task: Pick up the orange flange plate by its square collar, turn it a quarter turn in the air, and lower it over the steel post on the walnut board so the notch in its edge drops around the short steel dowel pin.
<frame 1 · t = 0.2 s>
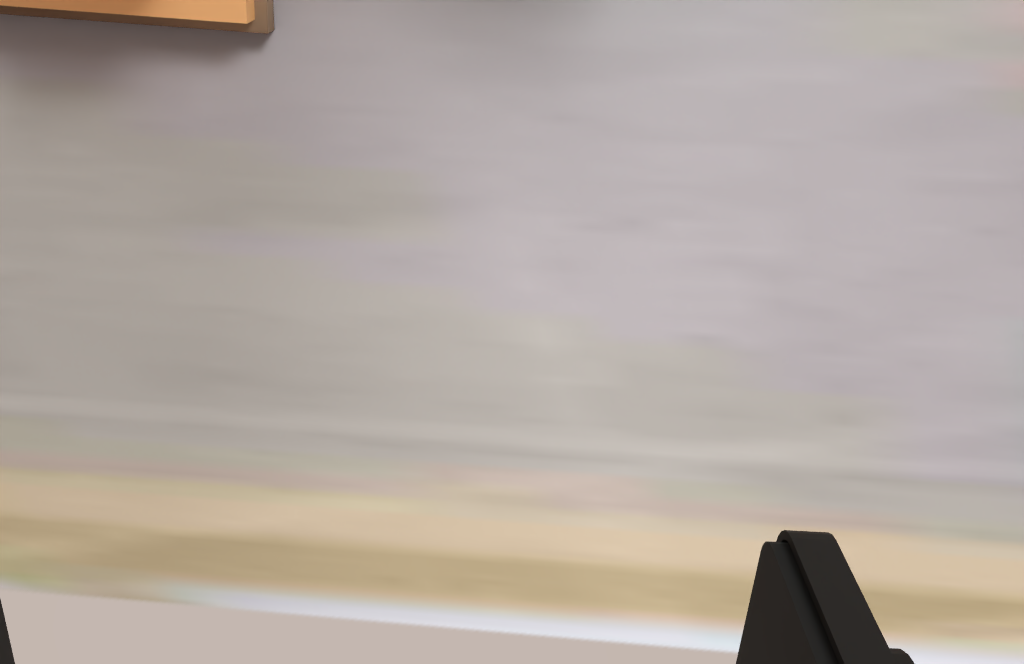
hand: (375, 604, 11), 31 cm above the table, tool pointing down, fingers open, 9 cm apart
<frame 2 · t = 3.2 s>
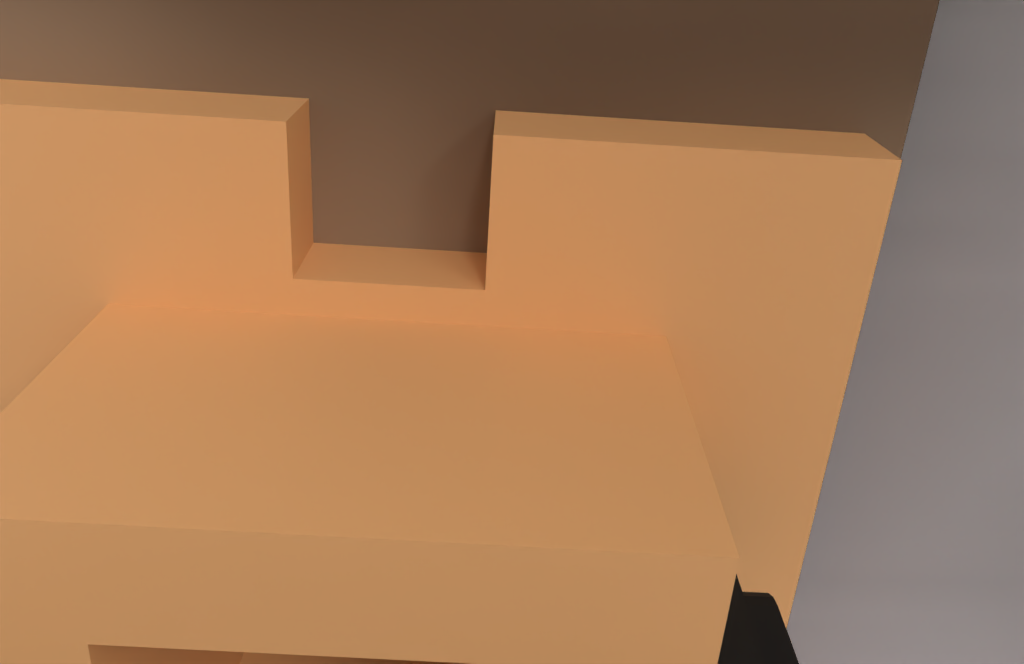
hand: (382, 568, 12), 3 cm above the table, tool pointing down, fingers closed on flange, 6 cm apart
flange: (398, 490, 13), point 1 cm above the table, touching board, gripper
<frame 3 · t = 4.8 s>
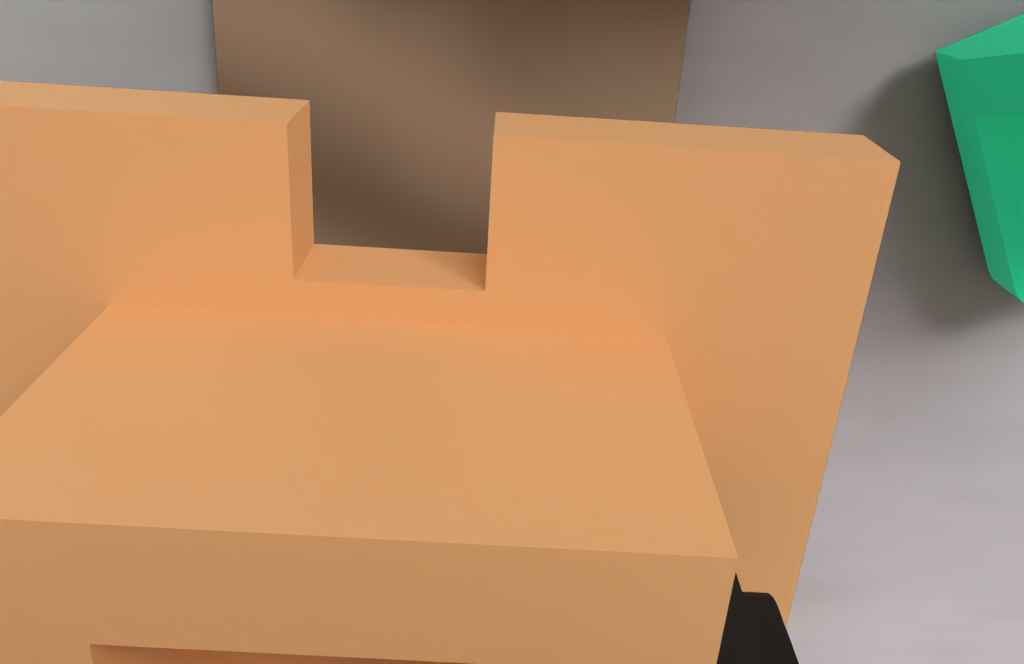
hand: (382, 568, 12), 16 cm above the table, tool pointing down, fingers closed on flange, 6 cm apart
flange: (398, 490, 13), point 15 cm above the table, touching gripper
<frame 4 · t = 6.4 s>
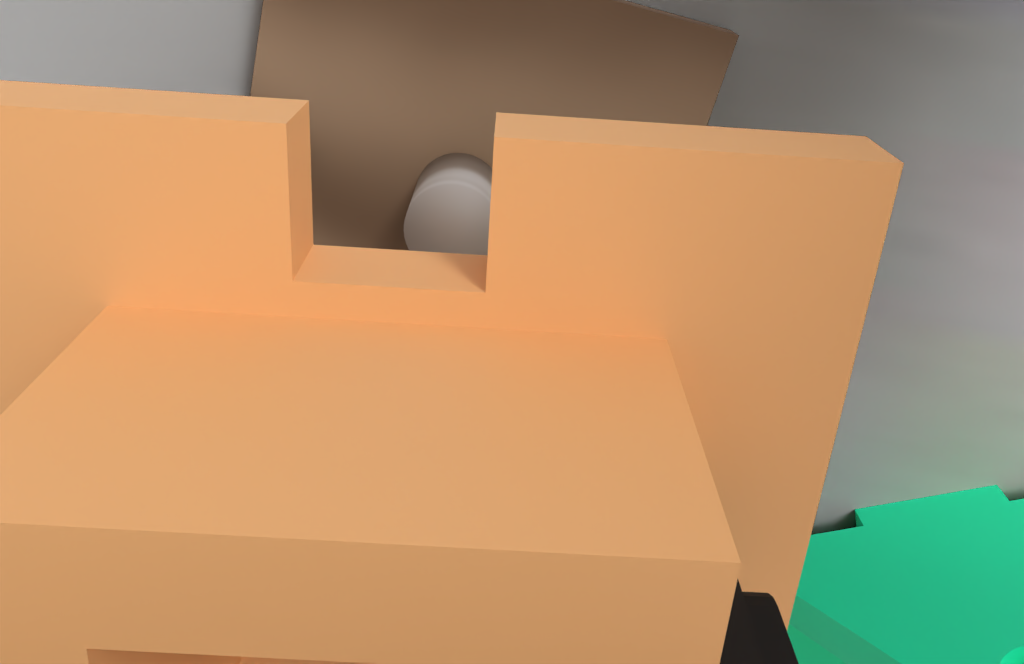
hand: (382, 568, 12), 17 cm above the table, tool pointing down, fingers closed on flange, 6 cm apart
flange: (397, 492, 13), point 15 cm above the table, touching gripper
board: (407, 403, 30), on the table
camera mount: (925, 576, 33), on the table
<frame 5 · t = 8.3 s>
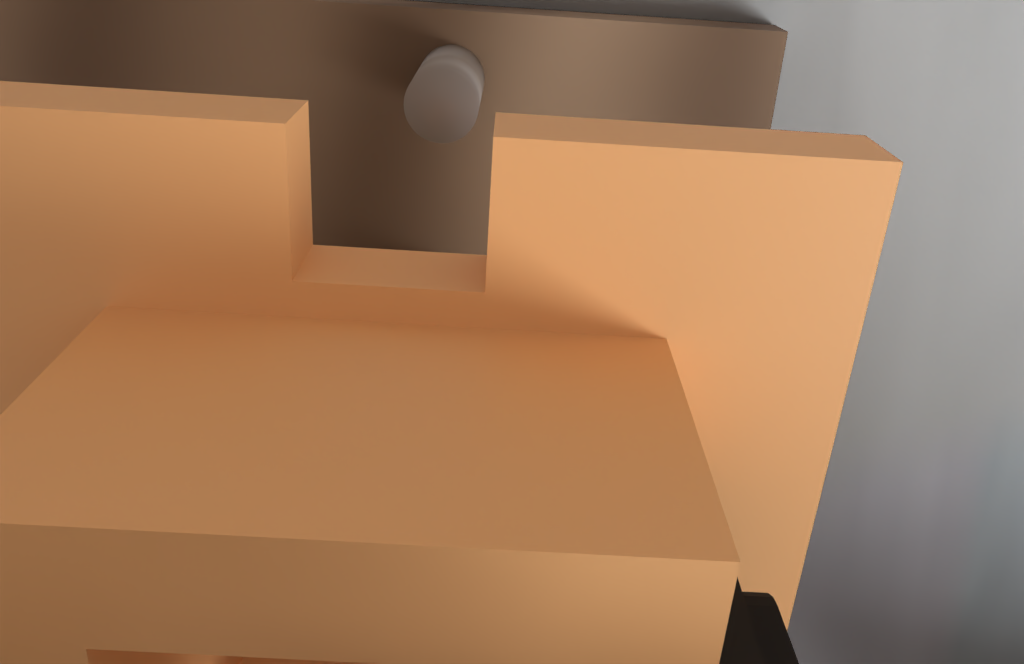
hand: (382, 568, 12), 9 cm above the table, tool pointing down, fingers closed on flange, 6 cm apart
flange: (397, 492, 13), point 7 cm above the table, touching gripper
board: (98, 275, 20), on the table
when the fingers open (4 cm above the table, at t = 9.9 s): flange stays where it is, resting on board.
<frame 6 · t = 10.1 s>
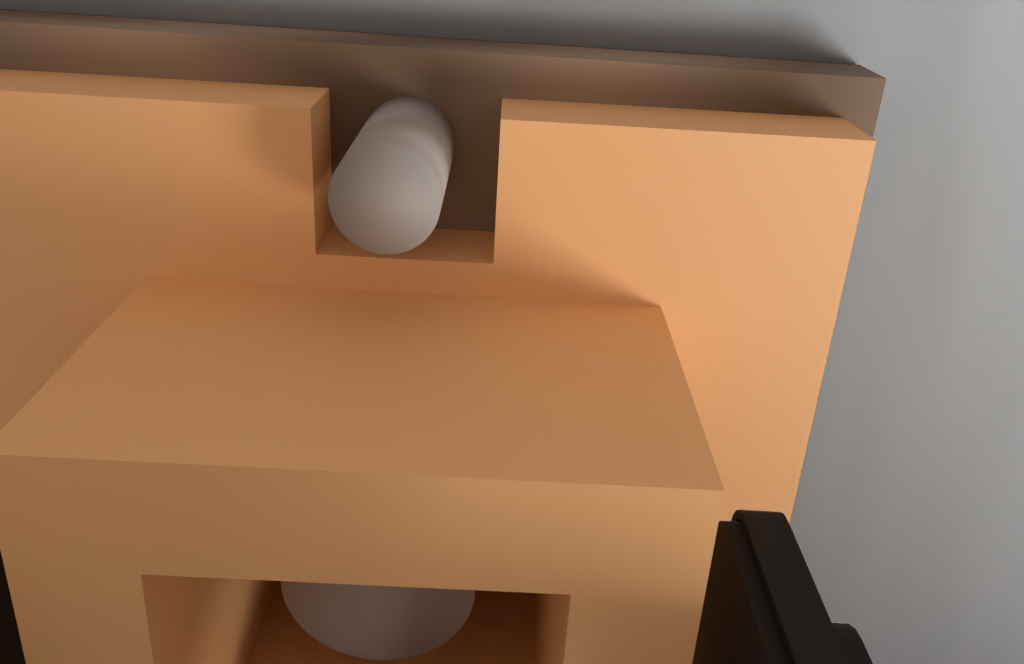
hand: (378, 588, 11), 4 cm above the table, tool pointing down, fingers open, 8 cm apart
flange: (411, 457, 14), point 1 cm above the table, touching board
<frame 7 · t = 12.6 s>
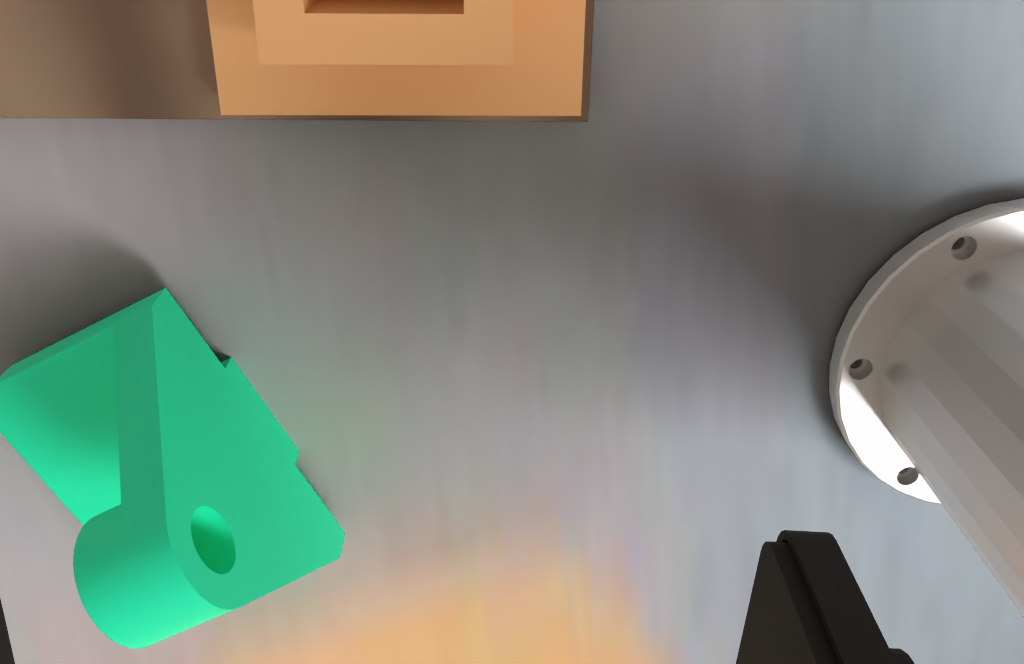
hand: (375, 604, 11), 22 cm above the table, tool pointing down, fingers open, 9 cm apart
camera mount: (186, 439, 37), on the table
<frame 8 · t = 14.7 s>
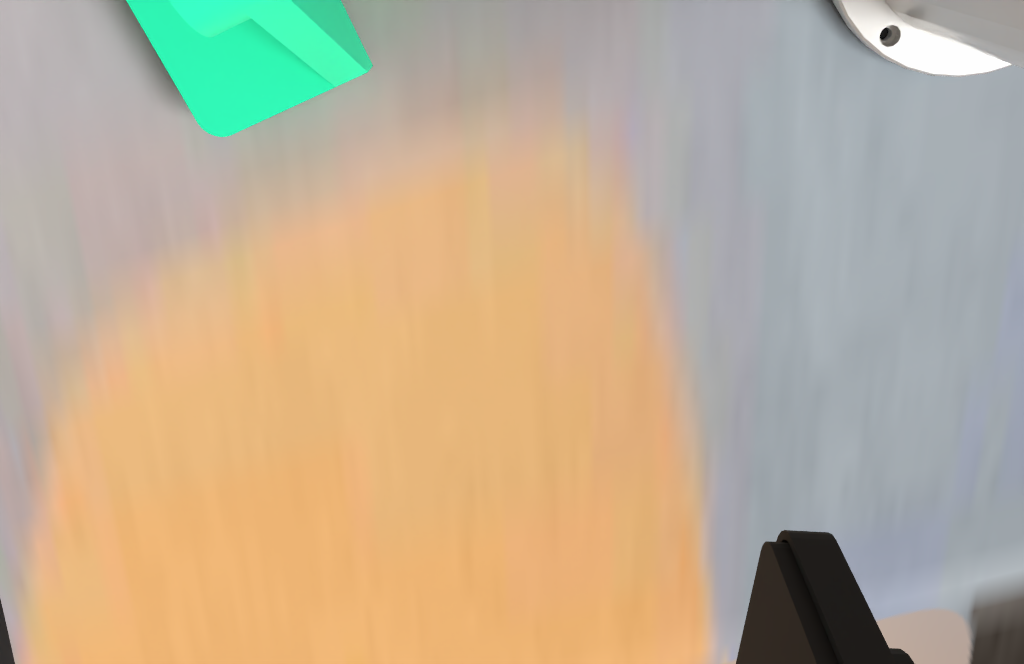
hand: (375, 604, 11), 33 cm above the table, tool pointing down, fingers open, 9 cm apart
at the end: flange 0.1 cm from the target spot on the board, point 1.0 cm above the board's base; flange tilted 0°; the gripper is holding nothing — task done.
